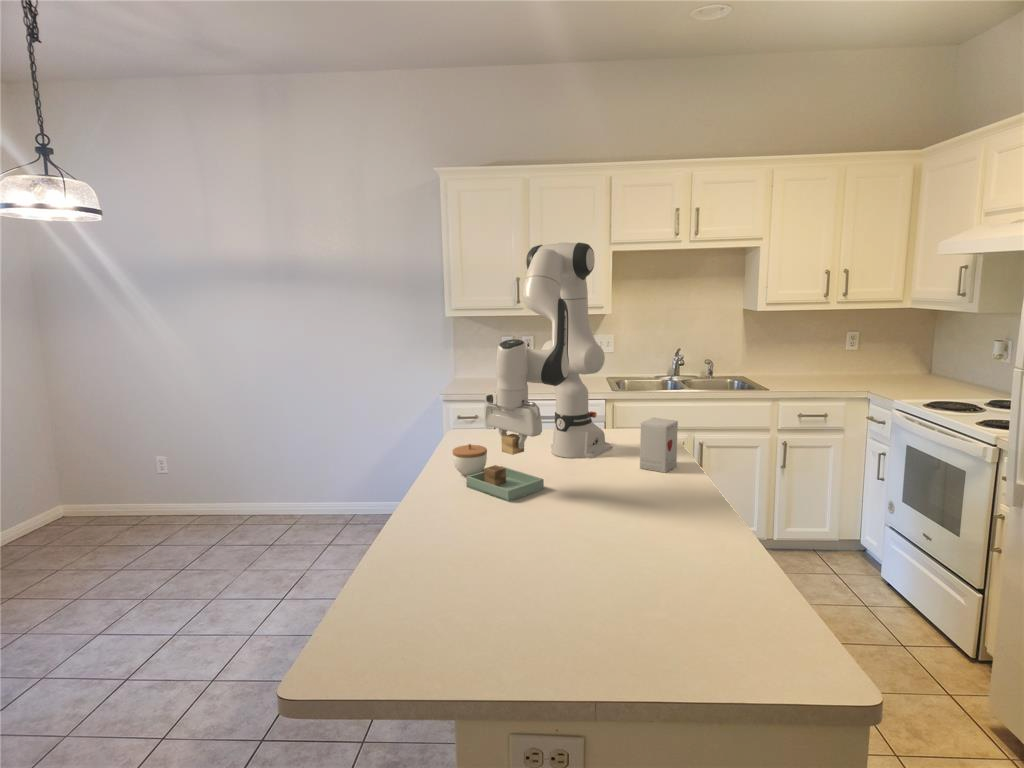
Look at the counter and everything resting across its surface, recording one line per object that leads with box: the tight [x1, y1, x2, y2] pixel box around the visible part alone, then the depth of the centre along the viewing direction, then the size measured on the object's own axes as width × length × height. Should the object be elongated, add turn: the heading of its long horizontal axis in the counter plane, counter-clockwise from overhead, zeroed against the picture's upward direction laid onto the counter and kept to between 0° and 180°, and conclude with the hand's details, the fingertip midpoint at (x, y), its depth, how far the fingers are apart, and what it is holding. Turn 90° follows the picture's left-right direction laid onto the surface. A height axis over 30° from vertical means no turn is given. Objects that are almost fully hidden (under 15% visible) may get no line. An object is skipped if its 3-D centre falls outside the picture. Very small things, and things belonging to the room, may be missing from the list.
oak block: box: [501, 433, 525, 456], centre depth 184 cm, size 4×4×4 cm
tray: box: [465, 465, 545, 503], centre depth 189 cm, size 14×18×3 cm
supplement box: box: [639, 417, 679, 474], centre depth 205 cm, size 9×9×15 cm
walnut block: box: [483, 464, 507, 486], centre depth 192 cm, size 4×4×4 cm
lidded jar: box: [452, 443, 488, 477], centre depth 203 cm, size 11×11×9 cm
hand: (513, 446), depth 184 cm, fingers closed on oak block, 4 cm apart
